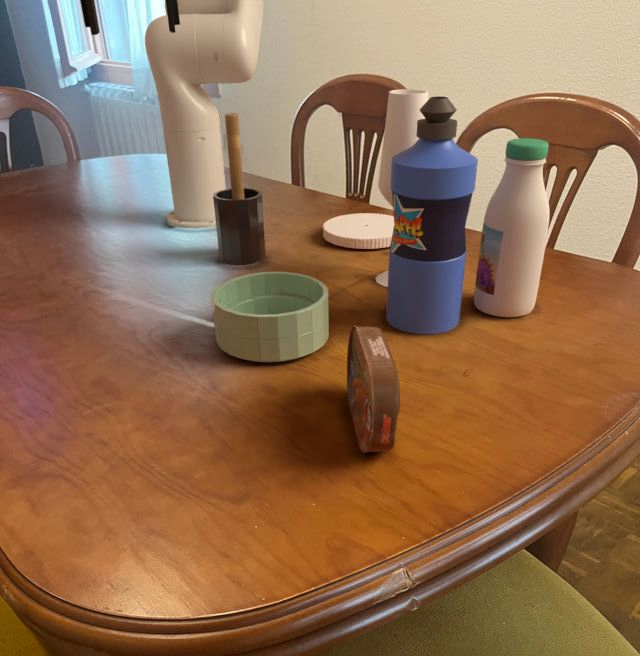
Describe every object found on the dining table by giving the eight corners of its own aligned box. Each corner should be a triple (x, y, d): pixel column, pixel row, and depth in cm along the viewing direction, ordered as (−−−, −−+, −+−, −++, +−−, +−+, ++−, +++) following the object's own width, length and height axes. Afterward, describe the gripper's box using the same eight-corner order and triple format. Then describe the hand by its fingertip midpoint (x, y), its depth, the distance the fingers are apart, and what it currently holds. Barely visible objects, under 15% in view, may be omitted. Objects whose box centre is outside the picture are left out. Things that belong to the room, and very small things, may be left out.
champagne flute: (390, 267, 97) (398, 86, 84) (431, 276, 94) (445, 90, 81) (366, 282, 93) (370, 93, 80) (408, 292, 90) (419, 96, 76)
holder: (240, 250, 105) (234, 185, 100) (275, 258, 102) (271, 191, 96) (210, 262, 100) (202, 195, 95) (246, 271, 97) (240, 202, 91)
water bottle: (416, 341, 77) (433, 107, 63) (370, 314, 84) (376, 96, 70) (476, 322, 81) (504, 98, 67) (427, 298, 88) (443, 89, 74)
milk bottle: (536, 298, 87) (565, 136, 76) (531, 322, 81) (562, 149, 70) (477, 292, 89) (497, 133, 78) (468, 314, 83) (489, 146, 72)
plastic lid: (305, 240, 109) (305, 225, 107) (366, 222, 116) (366, 208, 115) (364, 261, 100) (365, 245, 98) (426, 241, 107) (427, 225, 106)
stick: (242, 254, 102) (230, 112, 91) (251, 256, 101) (240, 113, 90) (234, 257, 100) (221, 114, 89) (243, 259, 100) (231, 115, 88)
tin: (344, 385, 69) (344, 310, 64) (374, 383, 69) (376, 309, 64) (364, 473, 56) (366, 388, 52) (400, 470, 57) (406, 386, 52)
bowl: (265, 308, 86) (262, 264, 82) (349, 333, 79) (350, 285, 76) (193, 347, 77) (187, 299, 73) (282, 378, 70) (280, 326, 67)
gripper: (185, -137, 79) (202, 29, 88) (34, -138, 76) (68, 33, 86) (185, -148, 72) (203, 32, 82) (21, -149, 70) (59, 37, 80)
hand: (134, 33), depth 84 cm, fingers open, 9 cm apart
